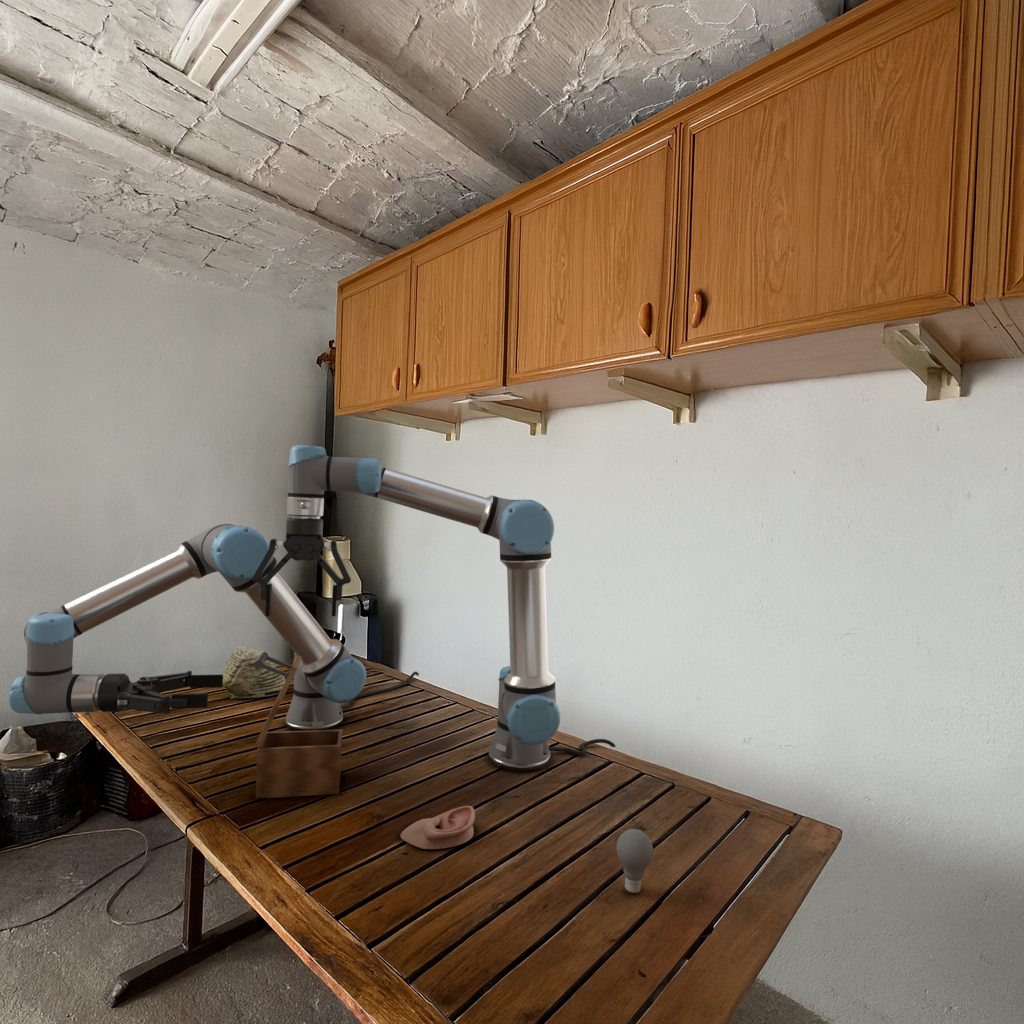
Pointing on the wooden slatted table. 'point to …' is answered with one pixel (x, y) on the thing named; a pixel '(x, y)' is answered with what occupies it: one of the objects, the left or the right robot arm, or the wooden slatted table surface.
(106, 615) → the left robot arm
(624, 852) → the light bulb
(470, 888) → the wooden slatted table surface
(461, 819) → the anatomical model
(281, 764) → the chest
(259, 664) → the lid
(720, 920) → the wooden slatted table surface
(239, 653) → the fossil
